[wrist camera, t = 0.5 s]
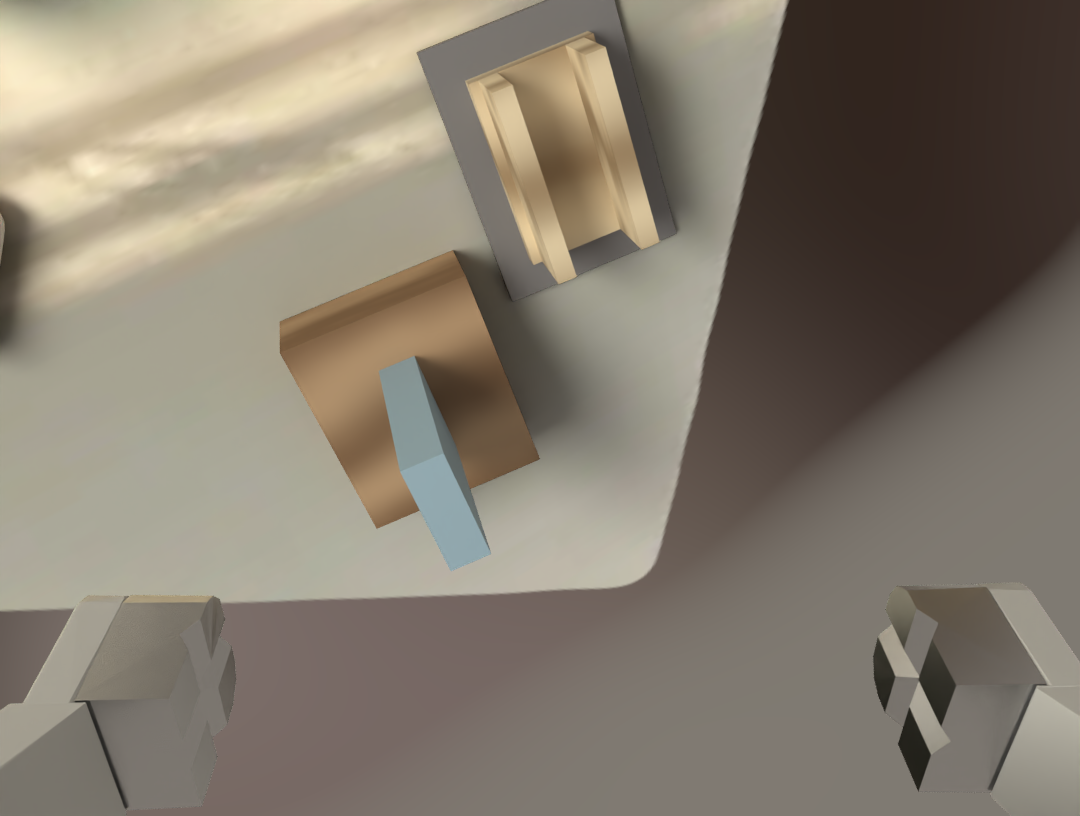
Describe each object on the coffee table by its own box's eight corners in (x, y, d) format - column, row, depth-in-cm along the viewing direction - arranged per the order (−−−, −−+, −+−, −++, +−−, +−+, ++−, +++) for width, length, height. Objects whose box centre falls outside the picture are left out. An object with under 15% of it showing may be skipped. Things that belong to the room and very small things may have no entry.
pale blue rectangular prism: (378, 370, 49) (400, 471, 40) (414, 355, 49) (443, 453, 40) (422, 460, 52) (450, 571, 43) (456, 445, 52) (491, 553, 43)
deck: (279, 321, 50) (279, 352, 47) (452, 250, 51) (465, 275, 47) (370, 490, 56) (376, 528, 53) (524, 425, 57) (540, 459, 53)
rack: (463, 79, 47) (481, 97, 42) (585, 29, 47) (615, 42, 43) (527, 256, 52) (549, 288, 48) (637, 210, 52) (668, 238, 48)
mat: (416, 52, 46) (417, 53, 45) (605, -24, 46) (608, -24, 46) (511, 299, 53) (512, 302, 52) (673, 231, 53) (676, 233, 53)
